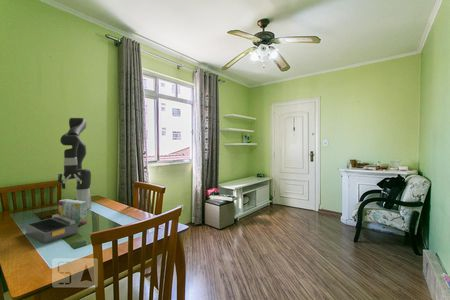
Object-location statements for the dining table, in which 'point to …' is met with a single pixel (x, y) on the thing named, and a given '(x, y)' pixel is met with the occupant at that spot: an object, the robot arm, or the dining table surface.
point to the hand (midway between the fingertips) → (71, 187)
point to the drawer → (52, 228)
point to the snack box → (74, 210)
